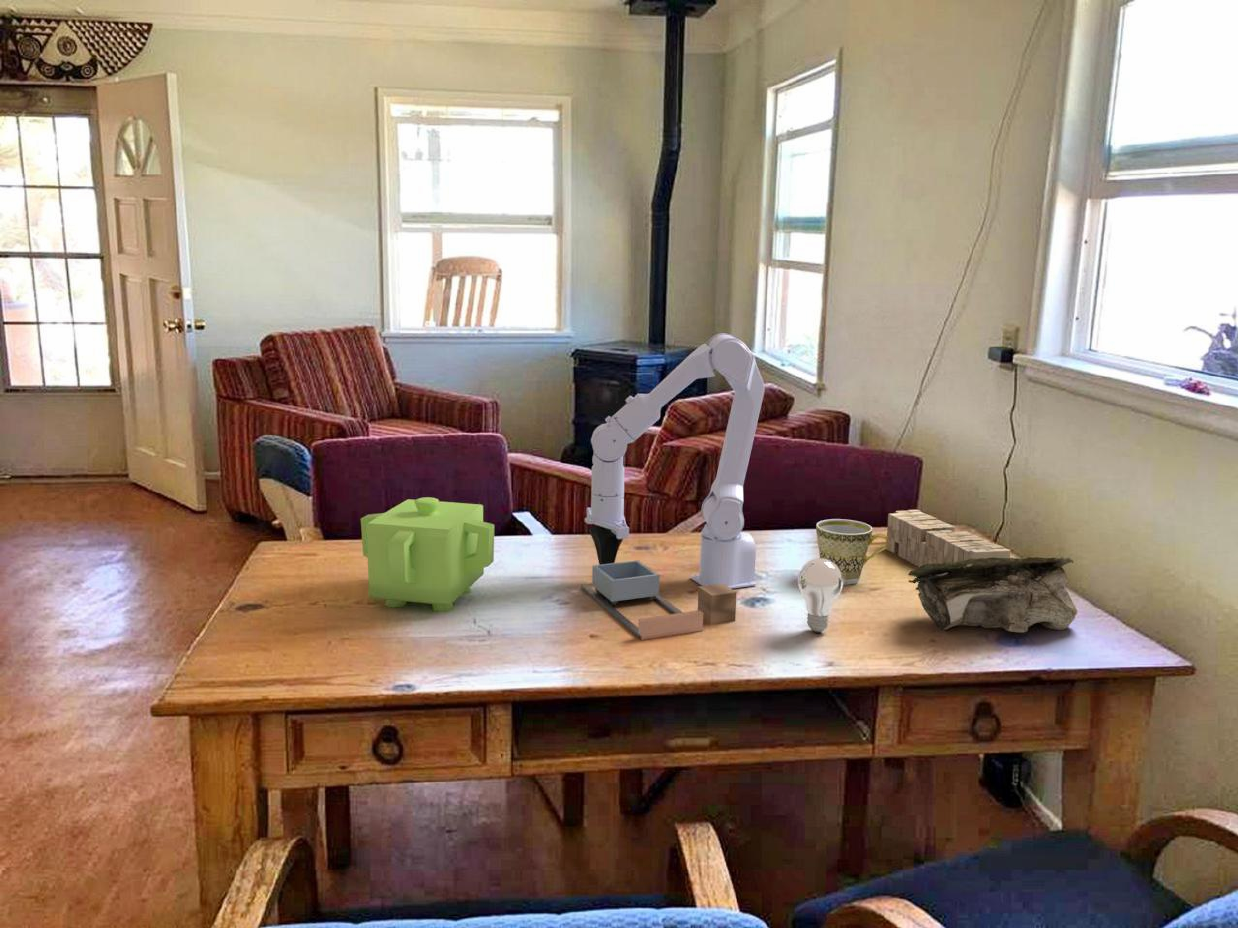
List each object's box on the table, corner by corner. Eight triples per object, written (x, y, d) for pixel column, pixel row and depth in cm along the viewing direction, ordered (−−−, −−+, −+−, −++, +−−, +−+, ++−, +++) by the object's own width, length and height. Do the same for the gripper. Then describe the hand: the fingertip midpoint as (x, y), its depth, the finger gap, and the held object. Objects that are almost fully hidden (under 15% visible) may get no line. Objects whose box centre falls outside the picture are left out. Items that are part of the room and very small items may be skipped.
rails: (636, 581, 180) (636, 565, 180) (702, 630, 158) (703, 612, 157) (581, 588, 176) (581, 571, 176) (641, 640, 154) (641, 621, 153)
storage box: (397, 569, 185) (394, 478, 181) (515, 579, 180) (514, 486, 177) (332, 617, 161) (327, 513, 157) (466, 630, 156) (464, 524, 153)
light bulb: (813, 643, 154) (818, 568, 151) (785, 627, 160) (790, 555, 157) (849, 635, 157) (854, 562, 154) (820, 621, 163) (825, 550, 160)
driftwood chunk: (907, 656, 161) (937, 616, 149) (889, 585, 168) (916, 541, 156) (1073, 647, 164) (1117, 607, 152) (1048, 577, 171) (1088, 533, 159)
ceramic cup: (807, 583, 181) (811, 529, 179) (818, 567, 190) (822, 516, 188) (881, 593, 176) (885, 539, 174) (889, 577, 185) (893, 524, 183)
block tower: (881, 552, 204) (969, 595, 177) (883, 511, 203) (972, 549, 175) (915, 549, 207) (1007, 591, 179) (917, 509, 205) (1011, 546, 178)
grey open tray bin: (637, 585, 178) (637, 560, 177) (658, 601, 170) (659, 575, 169) (592, 590, 174) (592, 565, 173) (611, 607, 166) (612, 580, 165)
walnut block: (721, 612, 166) (722, 583, 165) (735, 621, 162) (736, 592, 161) (697, 615, 165) (698, 586, 164) (710, 625, 161) (711, 595, 160)
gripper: (571, 485, 181) (570, 557, 184) (602, 504, 168) (601, 582, 171) (607, 482, 184) (606, 553, 186) (641, 501, 171) (639, 577, 173)
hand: (606, 567), depth 179 cm, fingers closed
